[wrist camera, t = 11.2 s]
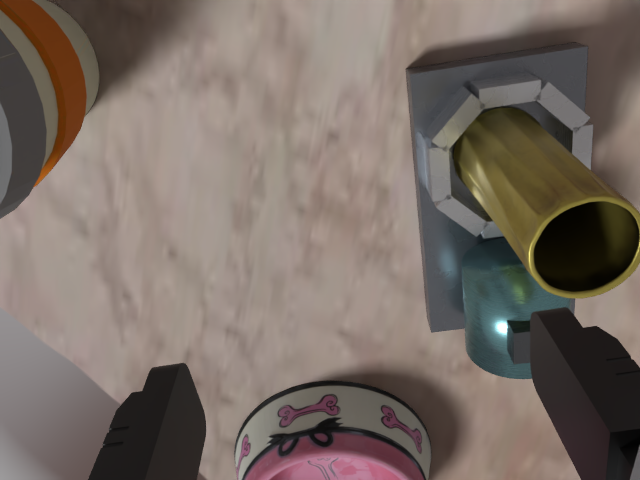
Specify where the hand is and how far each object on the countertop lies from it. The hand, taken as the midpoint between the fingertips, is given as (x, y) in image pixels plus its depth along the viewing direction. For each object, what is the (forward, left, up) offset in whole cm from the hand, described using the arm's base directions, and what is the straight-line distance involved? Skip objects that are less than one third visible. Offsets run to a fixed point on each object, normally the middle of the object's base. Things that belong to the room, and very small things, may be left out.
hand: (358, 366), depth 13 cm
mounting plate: (+9, +10, -28) cm, 31 cm away
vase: (+5, +10, -26) cm, 29 cm away
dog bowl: (+33, -5, -29) cm, 44 cm away
